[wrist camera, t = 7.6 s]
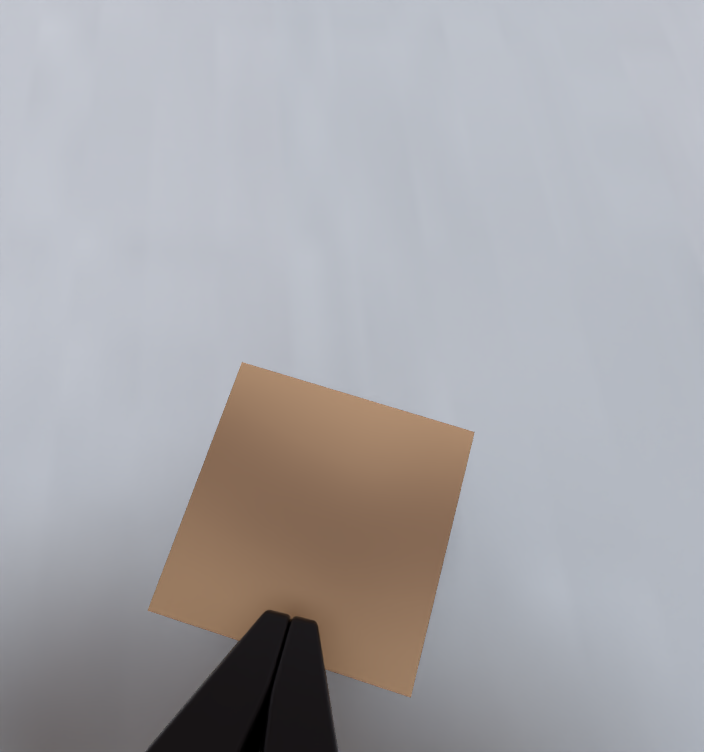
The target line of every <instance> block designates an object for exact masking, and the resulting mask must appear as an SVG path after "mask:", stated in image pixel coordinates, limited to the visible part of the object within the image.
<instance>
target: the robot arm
mask: <svg viewBox="0 0 704 752" xmlns="http://www.w3.org/2000/svg"><path fill="white" fill-rule="evenodd" d="M145 752H338V747H337V741H336V734H335V728H334V722H333V716H332V709H331V703H330V697H329V691H328V684H327V678H326V672H325V665H324V659H323V653H322V647H321V640H320V634H319V628H318V624H317V622H316V621H314V620H311V619H307V618H303V617H299V616H295V617H293V618H292V619H291V617H290V615H288V614H286V613H282V612H278V611H273V610H266V611H265V612H264V613H263V614H262V615H261V616H260V617H259V618H258V619H257V621H256V622H255V623H254V624H253V625H252V626H251V628H250V629H249V630H248V631H247V632H246V633H245V635H244V636H243V637H242V638H241V639H240V641H239V642H238V643H237V644H236V645H235V646H234V648H233V649H232V650H231V651H230V652H229V653H228V655H227V656H226V657H225V658H224V659H223V661H222V662H221V663H220V664H219V665H218V666H217V668H216V669H215V670H214V671H213V672H212V673H211V675H210V676H209V677H208V678H207V679H206V681H205V682H204V683H203V684H202V685H201V686H200V688H199V689H198V690H197V691H196V692H195V693H194V695H193V696H192V697H191V698H190V699H189V700H188V702H187V703H186V704H185V705H184V706H183V708H182V709H181V710H180V711H179V712H178V713H177V715H176V716H175V717H174V718H173V719H172V720H171V722H170V723H169V724H168V725H167V726H166V728H165V729H164V730H163V731H162V732H161V733H160V735H159V736H158V737H157V738H156V739H155V740H154V742H153V743H152V744H151V745H150V746H149V748H148V749H147V750H146V751H145Z"/></svg>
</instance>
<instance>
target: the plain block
mask: <svg viewBox="0 0 704 752" xmlns="http://www.w3.org/2000/svg"><path fill="white" fill-rule="evenodd" d="M473 436H474V432H472V431H469V430H466V429H462V428H459V427H456V426H452V425H449V424H446V423H442V422H439V421H436V420H432V419H429V418H426V417H422V416H419V415H416V414H412V413H409V412H406V411H402V410H399V409H396V408H392V407H389V406H386V405H383V404H379V403H376V402H373V401H369V400H366V399H363V398H359V397H356V396H353V395H349V394H346V393H343V392H339V391H336V390H333V389H329V388H326V387H323V386H319V385H316V384H313V383H309V382H306V381H303V380H299V379H296V378H293V377H289V376H286V375H283V374H279V373H276V372H273V371H269V370H266V369H263V368H259V367H256V366H253V365H249V364H246V363H243V362H242V364H241V366H240V369H239V372H238V374H237V377H236V380H235V382H234V385H233V387H232V390H231V393H230V395H229V398H228V401H227V403H226V406H225V408H224V411H223V414H222V416H221V419H220V422H219V424H218V427H217V429H216V432H215V435H214V437H213V440H212V443H211V445H210V448H209V450H208V453H207V456H206V458H205V461H204V464H203V466H202V469H201V472H200V474H199V477H198V479H197V482H196V485H195V487H194V490H193V493H192V495H191V498H190V500H189V503H188V506H187V508H186V511H185V514H184V516H183V519H182V521H181V524H180V527H179V529H178V532H177V535H176V537H175V540H174V543H173V545H172V548H171V550H170V553H169V556H168V558H167V561H166V564H165V566H164V569H163V571H162V574H161V577H160V579H159V582H158V585H157V587H156V590H155V592H154V595H153V598H152V600H151V603H150V606H149V608H148V611H151V612H154V613H157V614H160V615H163V616H166V617H169V618H172V619H175V620H178V621H181V622H184V623H187V624H190V625H193V626H196V627H199V628H202V629H205V630H208V631H211V632H214V633H217V634H220V635H223V636H226V637H229V638H232V639H235V640H238V641H240V639H241V638H242V637H243V636H244V635H245V633H246V632H247V631H248V630H249V629H250V628H251V626H252V625H253V624H254V623H255V622H256V621H257V619H258V618H259V617H260V616H261V615H262V614H263V613H264V612H265V611H266V610H273V611H278V612H282V613H286V614H288V615H290V617H291V619H292V618H293V617H295V616H299V617H303V618H307V619H311V620H314V621H316V622H317V624H318V628H319V634H320V640H321V647H322V653H323V659H324V665H325V669H326V670H329V671H332V672H335V673H338V674H341V675H344V676H347V677H350V678H353V679H356V680H359V681H362V682H365V683H368V684H371V685H374V686H377V687H380V688H383V689H386V690H390V691H393V692H396V693H399V694H402V695H405V696H408V697H411V694H412V690H413V686H414V681H415V677H416V673H417V669H418V665H419V661H420V657H421V652H422V648H423V644H424V640H425V636H426V632H427V627H428V623H429V619H430V615H431V611H432V607H433V603H434V598H435V594H436V590H437V586H438V582H439V578H440V573H441V569H442V565H443V561H444V557H445V553H446V549H447V544H448V540H449V536H450V532H451V528H452V524H453V519H454V515H455V511H456V507H457V503H458V499H459V495H460V490H461V486H462V482H463V478H464V474H465V470H466V465H467V461H468V457H469V453H470V449H471V445H472V441H473Z"/></svg>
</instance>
